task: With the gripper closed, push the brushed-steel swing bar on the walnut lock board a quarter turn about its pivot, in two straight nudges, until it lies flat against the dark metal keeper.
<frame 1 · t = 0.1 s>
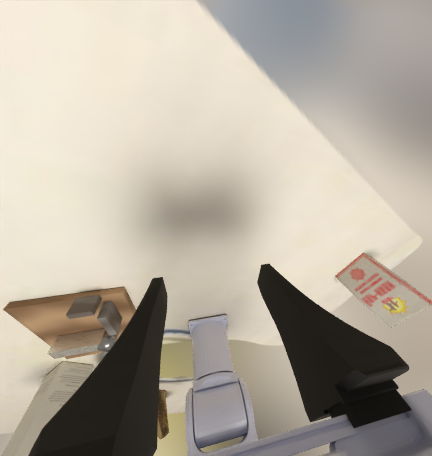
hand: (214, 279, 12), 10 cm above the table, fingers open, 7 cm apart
swing bar: (86, 342, 27), point 2 cm above the table, hinge at 90.0°
skincare box: (69, 368, 35), on the table
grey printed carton: (352, 266, 33), on the table
lock board: (93, 324, 28), on the table
rock: (159, 393, 55), on the table
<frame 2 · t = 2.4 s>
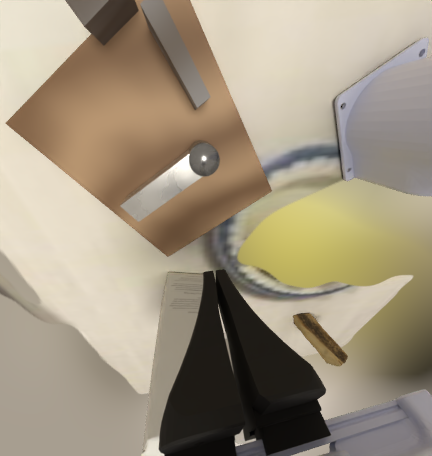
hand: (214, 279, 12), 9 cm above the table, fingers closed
swing bar: (171, 180, 14), point 2 cm above the table, hinge at 90.0°
skincare box: (183, 287, 26), on the table
lock board: (169, 162, 16), on the table
rock: (302, 321, 41), on the table
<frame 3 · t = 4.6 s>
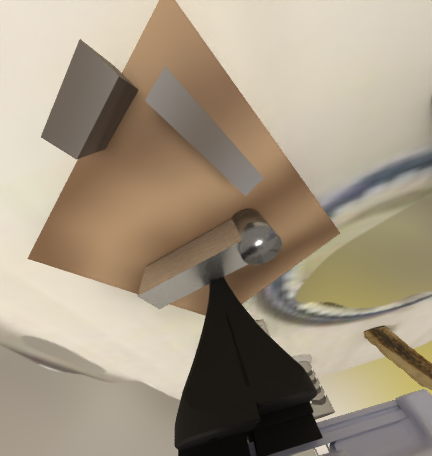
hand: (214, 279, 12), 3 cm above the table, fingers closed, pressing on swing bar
swing bar: (207, 259, 11), point 2 cm above the table, hinge at 72.1°, touching gripper
french press: (287, 363, 37), on the table
lock board: (205, 235, 13), on the table
rock: (374, 333, 35), on the table
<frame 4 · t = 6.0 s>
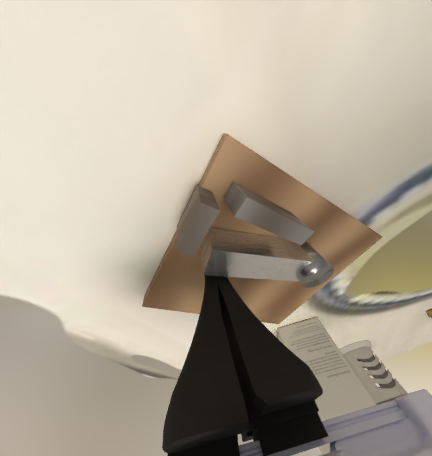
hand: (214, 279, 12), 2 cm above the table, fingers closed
swing bar: (267, 258, 11), point 2 cm above the table, hinge at 12.5°
skincare box: (293, 331, 26), on the table
french press: (346, 350, 37), on the table
lock board: (259, 263, 15), on the table
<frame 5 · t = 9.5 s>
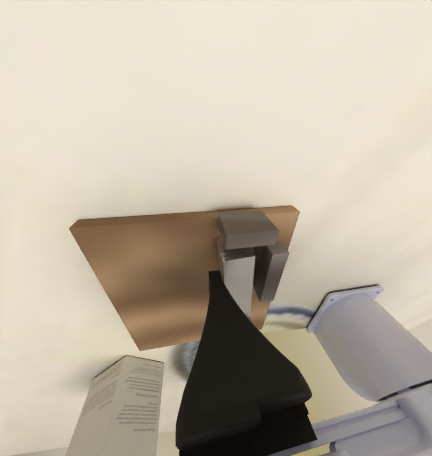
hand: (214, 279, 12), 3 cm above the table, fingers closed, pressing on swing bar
swing bar: (235, 290, 13), point 2 cm above the table, hinge at 4.6°, touching gripper
skincare box: (129, 367, 23), on the table
lock board: (200, 288, 16), on the table
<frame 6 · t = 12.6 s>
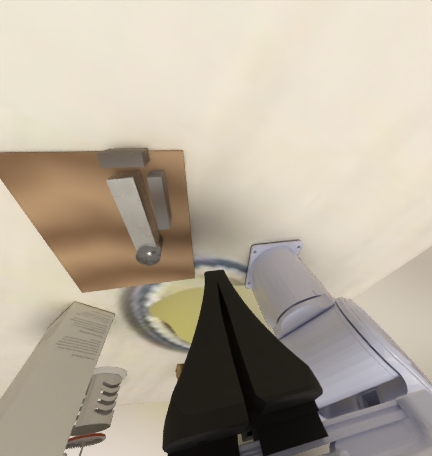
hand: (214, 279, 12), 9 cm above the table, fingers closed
swing bar: (140, 222, 16), point 2 cm above the table, hinge at 3.7°
skincare box: (82, 317, 26), on the table
french press: (102, 373, 38), on the table
lock board: (125, 231, 19), on the table
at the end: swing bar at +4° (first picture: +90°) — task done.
